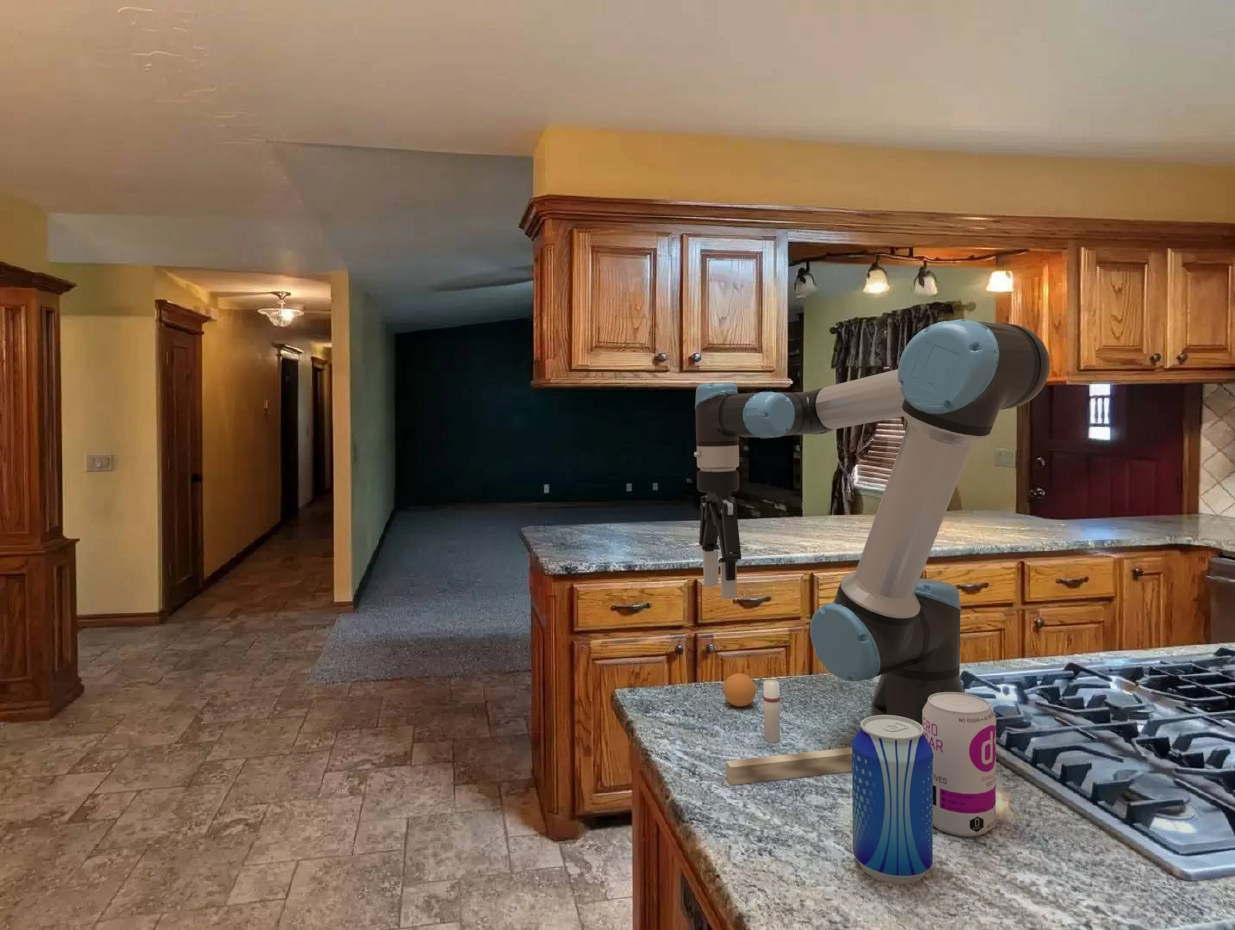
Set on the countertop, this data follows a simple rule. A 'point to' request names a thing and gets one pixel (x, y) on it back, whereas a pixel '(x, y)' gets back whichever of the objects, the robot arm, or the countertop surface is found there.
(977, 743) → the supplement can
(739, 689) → the ball
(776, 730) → the pin
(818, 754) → the bar
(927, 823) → the beer can
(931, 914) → the countertop surface
